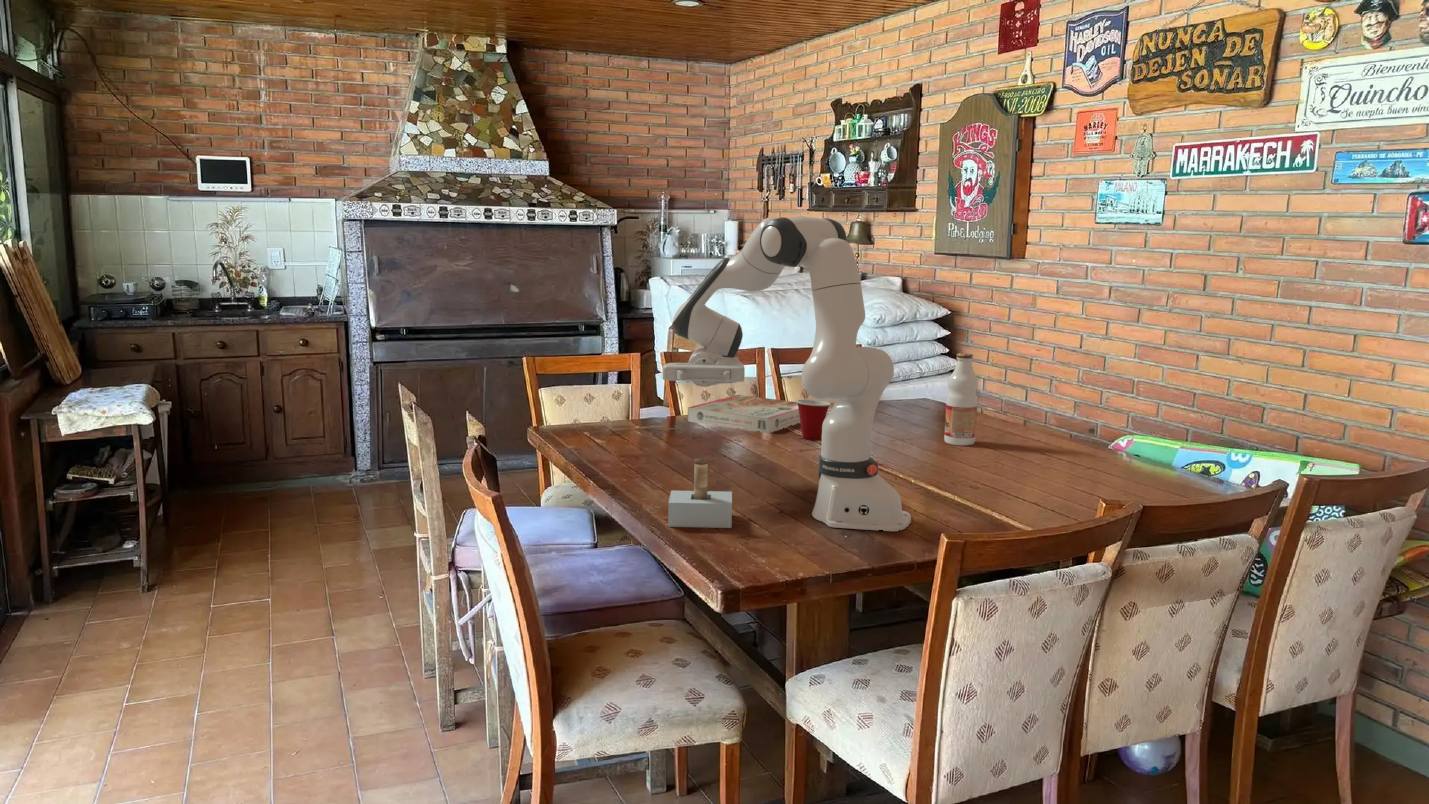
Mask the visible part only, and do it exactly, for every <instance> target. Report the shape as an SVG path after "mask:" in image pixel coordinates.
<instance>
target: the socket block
mask: <svg viewBox="0 0 1429 804" xmlns="http://www.w3.org/2000/svg"><path fill="white" fill-rule="evenodd" d="M667 508H668V514H667V515H668V516H667V520H668V522H667V525H668V526H667V527H668V528H669V527H671V528H672V527H673V528H717V529H718V528H719V529H720V528H722V529H724V528H725V529H727V528H728V529H732V528H733V527H732V523H733V520H732V519H733V518H732V516H733V491H723V490H721V491H720V490H719V491H715V490H713V491H712V490H710V491H709V490H707V500H694V490H671V491H670V494H669V499H668V507H667Z"/></svg>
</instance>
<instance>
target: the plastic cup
mask: <svg viewBox="0 0 1429 804" xmlns="http://www.w3.org/2000/svg"><path fill="white" fill-rule="evenodd" d="M795 402H797V403H798V409H799V415H800V423H799V424H800V428H801V436H802V439H804V440H807V441H808V440H809V441H818V440H820V439H821V440H822V425H823V421H824V419H825V418H826V417H827V414H828V410H829V407H830V406H831V403H830V402H828V401H825V400H824V401H822V400H818V399H817V400H815V399H797V400H796V401H795Z"/></svg>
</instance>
